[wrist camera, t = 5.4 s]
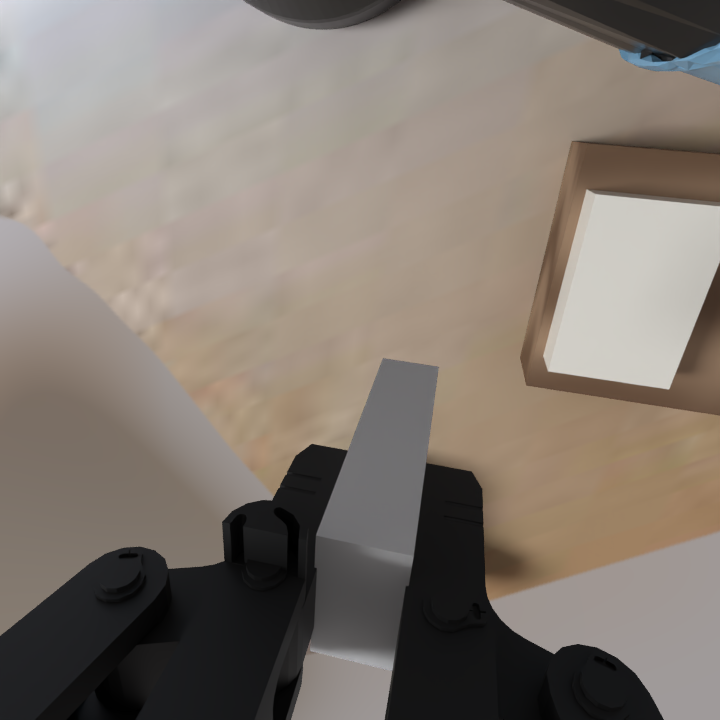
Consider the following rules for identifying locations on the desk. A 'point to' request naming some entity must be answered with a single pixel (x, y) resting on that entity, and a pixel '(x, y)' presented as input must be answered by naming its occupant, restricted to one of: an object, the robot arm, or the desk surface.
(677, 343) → the white rectangular block
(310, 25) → the robot arm
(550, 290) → the brown wooden flat block
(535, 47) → the desk surface
